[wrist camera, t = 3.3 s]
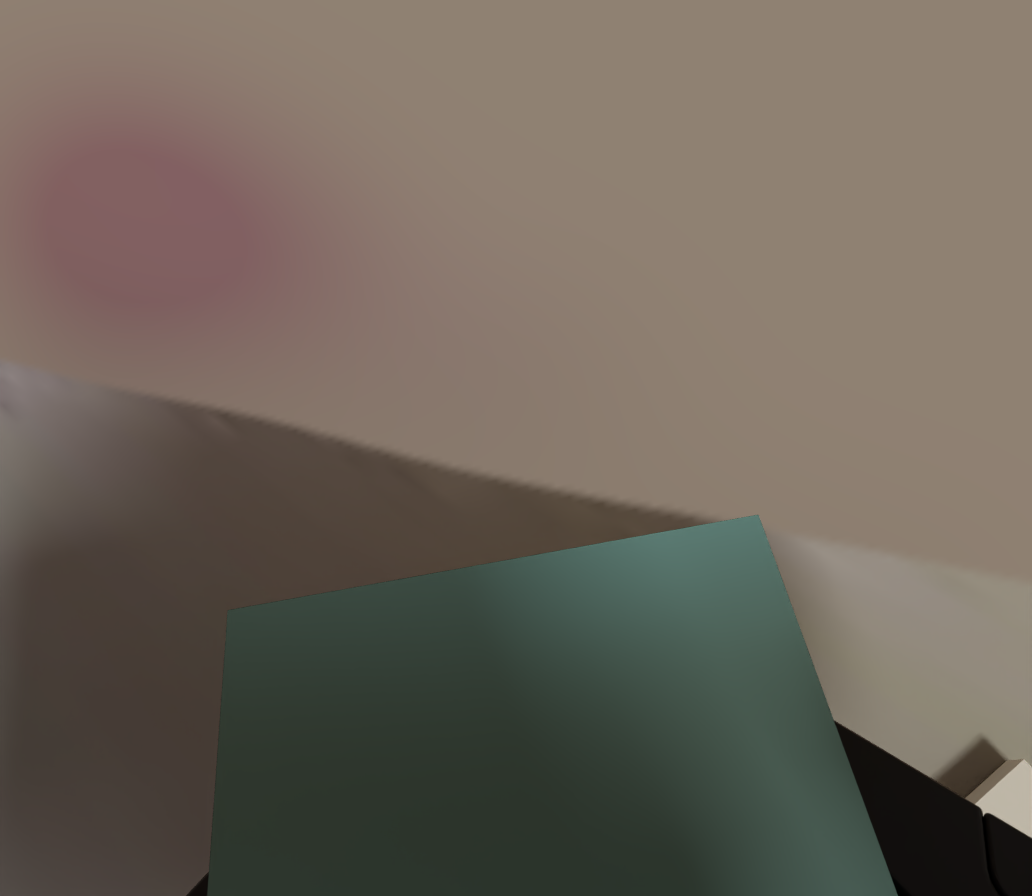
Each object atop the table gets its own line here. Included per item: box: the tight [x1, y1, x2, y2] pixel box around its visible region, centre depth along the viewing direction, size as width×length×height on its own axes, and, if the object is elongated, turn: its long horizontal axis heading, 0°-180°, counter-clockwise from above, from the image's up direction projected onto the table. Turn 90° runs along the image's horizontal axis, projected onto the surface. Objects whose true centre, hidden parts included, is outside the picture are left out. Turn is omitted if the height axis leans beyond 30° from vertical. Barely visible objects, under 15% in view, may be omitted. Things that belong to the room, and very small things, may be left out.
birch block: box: [207, 515, 898, 896], centre depth 9 cm, size 4×4×11 cm
